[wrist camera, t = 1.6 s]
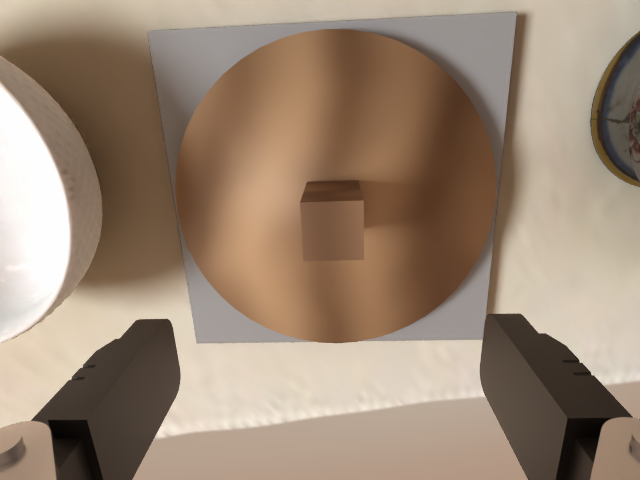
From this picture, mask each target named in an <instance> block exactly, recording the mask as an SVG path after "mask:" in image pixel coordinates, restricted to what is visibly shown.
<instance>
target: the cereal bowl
mask: <svg viewBox="0 0 640 480" xmlns="http://www.w3.org/2000/svg"><path fill="white" fill-rule="evenodd" d="M102 213H103V210H102V197H101V191H100V184H99V180H98V177H97V173H96V170H95V167H94V164H93V162H92V160H91V156H90V154H89V152H88V149H87V147H86V145H85V142H84V140H83V139H82V138H81V135H80V133H79V132H78V131H77V129H76V126H75V125H74V124H73V123H72V121H71V119H70V117H68V116H67V114H66V112H65V111H64V110H63V109H62V108H61V106H60V105H59V104H58V103H57V102H56V101H55V100H54V99H53V98H52V97H51V96H50V94H49V93H48V92H47V91H46V90H44V88H43V87H42V86H40V85H39V84H38V83H37V82H36V81H35V80H34V79H33V78H31V77H30V76H28V75H27V74H26V73H24V72H23V71H22V70H21V69H20V68H18V67H17V66H16V65H14V64H12V63H11V62H9V61H7V60H6V59H5V58H4V57H2V56H0V343H2V342H5V341H7V340H10V339H13V338H15V337H17V336H18V335H20V334H22V333H24V332H26V331H28V330H30V329H31V328H32V327H33V326H34V325H36V324H37V323H39V322H41V321H42V320H44V319H45V317H46V316H48V315H50V314H51V313H52V312H53V311H54V309H55V308H56V307H58V306H59V305H61V304H62V302H63V301H64V300H65V299H66V298H67V297H68V296H69V295H70V294H71V293H72V291H73V290H74V289H75V288H76V287H77V286H78V285H79V283H80V281H81V280H82V278H83V277H84V276H85V274H86V271H87V270H88V268H89V267H90V264H91V262H92V260H93V257H94V255H95V253H96V249H97V246H98V244H99V239H100V233H101V228H102V218H103V216H102Z"/></svg>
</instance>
